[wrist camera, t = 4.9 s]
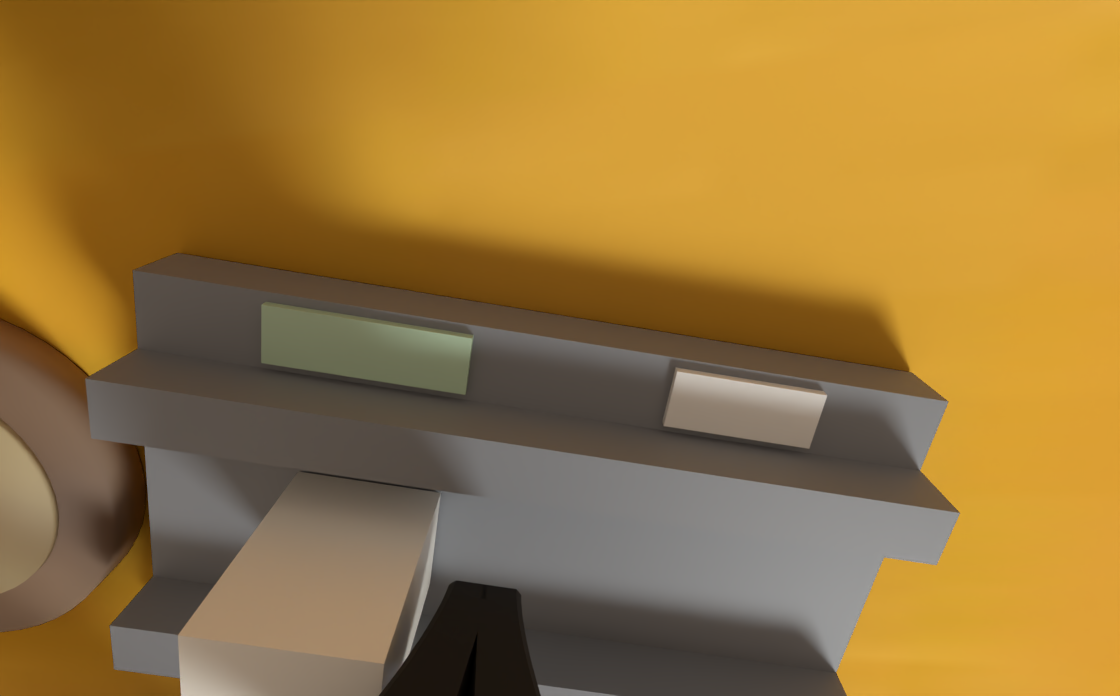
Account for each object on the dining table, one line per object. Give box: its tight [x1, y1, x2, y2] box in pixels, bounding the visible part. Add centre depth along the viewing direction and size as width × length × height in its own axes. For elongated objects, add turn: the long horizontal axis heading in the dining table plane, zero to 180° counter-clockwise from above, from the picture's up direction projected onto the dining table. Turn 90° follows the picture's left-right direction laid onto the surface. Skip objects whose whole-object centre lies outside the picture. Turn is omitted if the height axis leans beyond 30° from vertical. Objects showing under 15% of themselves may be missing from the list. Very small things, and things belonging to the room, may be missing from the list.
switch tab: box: [178, 472, 441, 696], centre depth 12 cm, size 2×3×4 cm
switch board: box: [85, 253, 960, 696], centre depth 14 cm, size 10×16×3 cm, turn 81°
